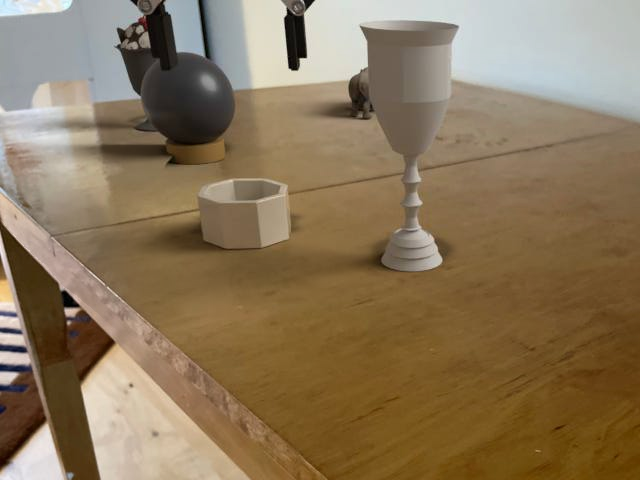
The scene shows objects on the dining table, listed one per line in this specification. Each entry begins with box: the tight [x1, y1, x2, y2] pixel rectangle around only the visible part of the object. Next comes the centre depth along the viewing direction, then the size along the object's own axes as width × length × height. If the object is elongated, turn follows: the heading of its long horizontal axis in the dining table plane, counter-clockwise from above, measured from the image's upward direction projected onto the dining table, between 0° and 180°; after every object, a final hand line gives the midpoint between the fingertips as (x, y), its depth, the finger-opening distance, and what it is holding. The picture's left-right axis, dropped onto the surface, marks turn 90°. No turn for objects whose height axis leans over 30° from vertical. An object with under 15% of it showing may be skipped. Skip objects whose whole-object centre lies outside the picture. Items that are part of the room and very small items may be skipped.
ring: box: [196, 177, 292, 250], centre depth 68 cm, size 7×7×4 cm
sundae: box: [113, 14, 159, 132], centre depth 100 cm, size 7×7×15 cm
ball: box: [140, 51, 236, 165], centre depth 88 cm, size 10×10×12 cm
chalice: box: [358, 19, 460, 272], centre depth 60 cm, size 7×7×18 cm
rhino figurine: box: [347, 66, 374, 119], centre depth 117 cm, size 4×14×6 cm, turn 179°
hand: (233, 68), depth 62 cm, fingers open, 9 cm apart
